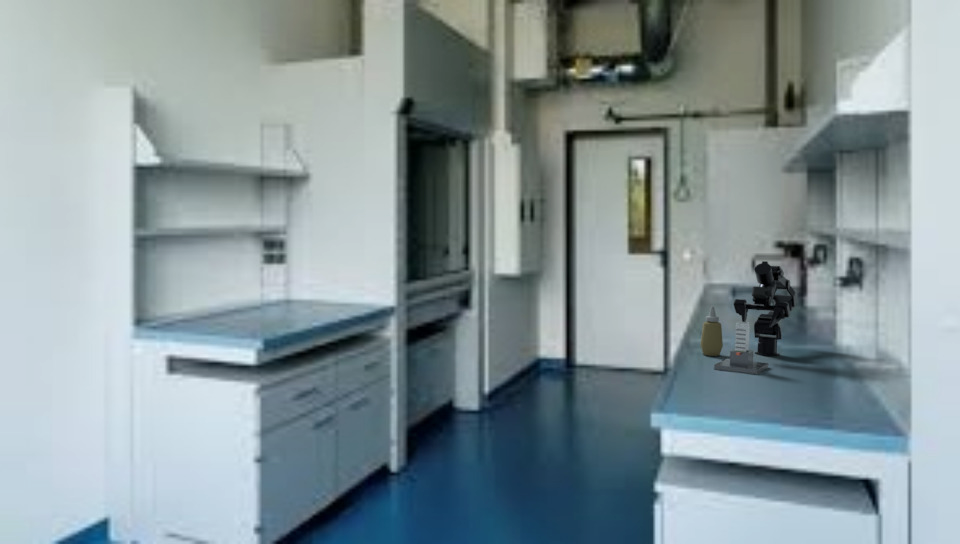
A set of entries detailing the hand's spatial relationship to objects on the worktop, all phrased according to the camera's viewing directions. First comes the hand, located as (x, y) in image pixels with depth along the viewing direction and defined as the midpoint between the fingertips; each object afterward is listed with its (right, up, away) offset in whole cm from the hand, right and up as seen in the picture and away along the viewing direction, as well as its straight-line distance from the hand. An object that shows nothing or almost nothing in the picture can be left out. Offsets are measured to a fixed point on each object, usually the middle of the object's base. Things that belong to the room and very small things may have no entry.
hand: (756, 326), depth 268 cm
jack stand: (-10, -13, -13) cm, 21 cm away
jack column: (-10, -8, -13) cm, 18 cm away
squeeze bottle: (-12, -12, +13) cm, 21 cm away
